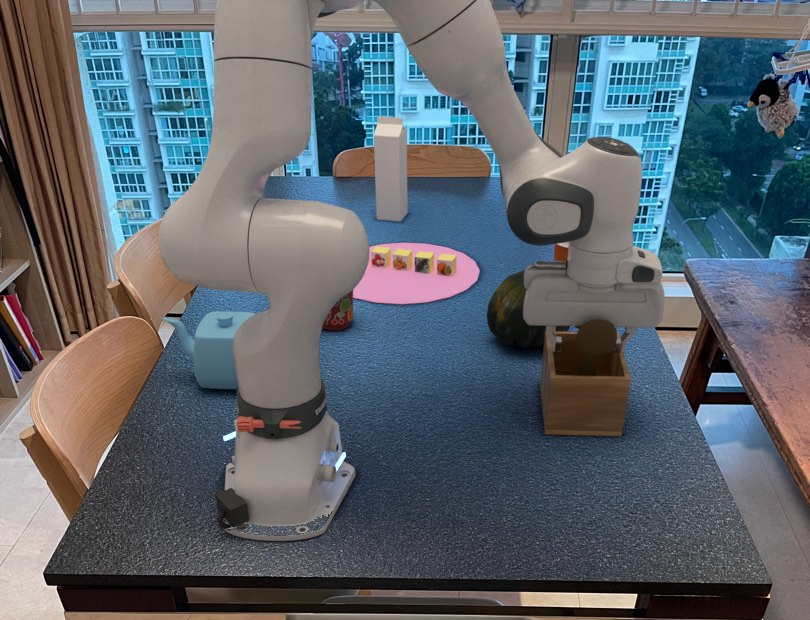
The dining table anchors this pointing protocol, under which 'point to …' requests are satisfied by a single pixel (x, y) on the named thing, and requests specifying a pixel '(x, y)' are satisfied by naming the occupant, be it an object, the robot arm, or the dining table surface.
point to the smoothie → (340, 314)
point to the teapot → (213, 347)
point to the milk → (390, 168)
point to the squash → (514, 315)
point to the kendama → (594, 344)
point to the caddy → (583, 391)
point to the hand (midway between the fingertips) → (587, 350)
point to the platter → (415, 274)
